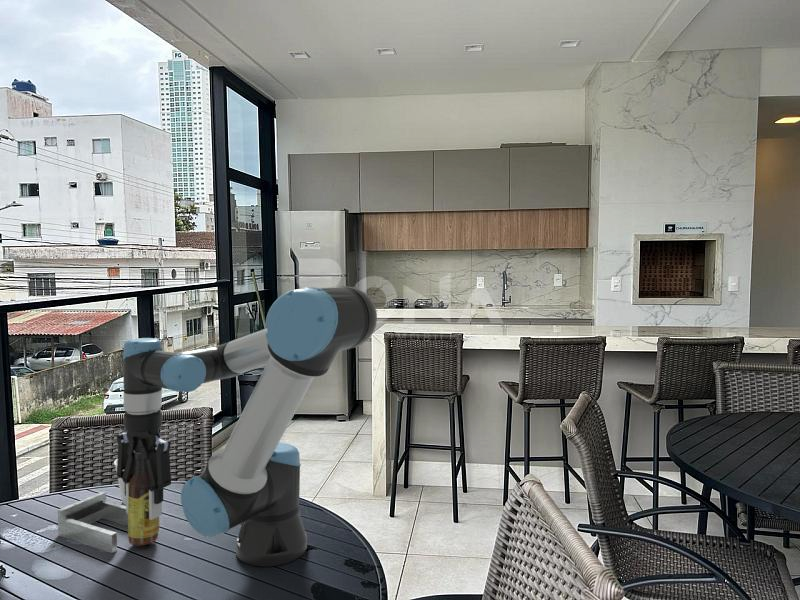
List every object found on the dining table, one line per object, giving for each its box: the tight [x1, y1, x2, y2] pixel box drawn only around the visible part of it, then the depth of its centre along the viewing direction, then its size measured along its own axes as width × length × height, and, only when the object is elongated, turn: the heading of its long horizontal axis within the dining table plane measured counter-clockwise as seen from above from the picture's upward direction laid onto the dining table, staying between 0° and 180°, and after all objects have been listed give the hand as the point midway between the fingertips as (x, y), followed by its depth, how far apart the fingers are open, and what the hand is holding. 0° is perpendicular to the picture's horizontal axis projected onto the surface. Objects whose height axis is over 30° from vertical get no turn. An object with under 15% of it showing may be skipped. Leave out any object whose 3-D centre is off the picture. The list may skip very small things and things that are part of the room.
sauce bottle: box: [127, 452, 160, 547], centre depth 124 cm, size 6×6×20 cm
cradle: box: [57, 491, 128, 554], centre depth 129 cm, size 17×11×6 cm, turn 66°
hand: (143, 513), depth 125 cm, fingers closed on sauce bottle, 6 cm apart
